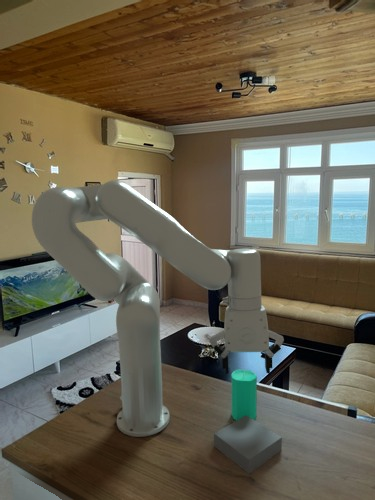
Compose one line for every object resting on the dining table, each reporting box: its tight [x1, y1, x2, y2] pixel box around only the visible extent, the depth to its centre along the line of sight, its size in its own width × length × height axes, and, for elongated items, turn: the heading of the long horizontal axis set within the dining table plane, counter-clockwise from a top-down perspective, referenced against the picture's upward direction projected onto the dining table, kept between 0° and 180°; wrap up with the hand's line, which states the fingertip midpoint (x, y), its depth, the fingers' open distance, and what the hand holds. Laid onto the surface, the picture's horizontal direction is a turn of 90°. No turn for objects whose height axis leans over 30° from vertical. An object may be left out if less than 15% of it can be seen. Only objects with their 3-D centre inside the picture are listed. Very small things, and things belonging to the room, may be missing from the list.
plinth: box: [213, 415, 283, 474], centre depth 76 cm, size 10×10×3 cm
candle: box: [231, 369, 258, 421], centre depth 87 cm, size 6×6×12 cm
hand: (247, 370), depth 86 cm, fingers open, 9 cm apart
